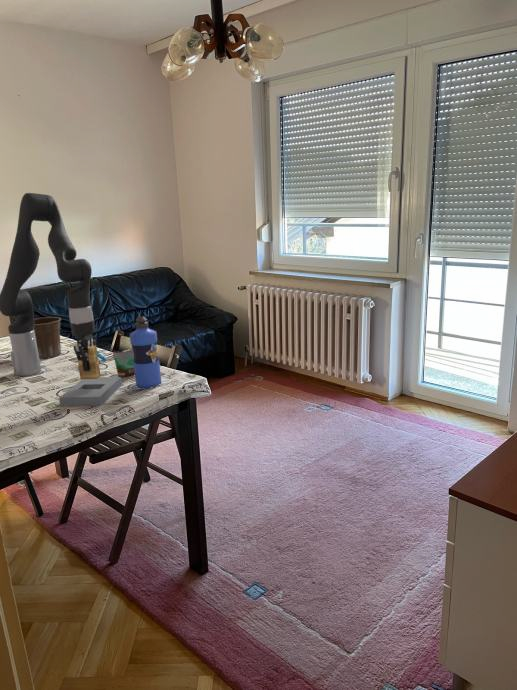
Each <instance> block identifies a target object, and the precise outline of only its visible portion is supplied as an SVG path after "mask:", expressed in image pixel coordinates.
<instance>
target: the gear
mask: <svg viewBox="0 0 517 690" xmlns="http://www.w3.org/2000/svg"><path fill="white" fill-rule="evenodd" d="M97 354H98V359H100V360H102V361H104V362H107V358H106V357H105V356H103V355H102V353H100V352H99V351H98V350H97Z"/></svg>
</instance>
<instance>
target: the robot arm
mask: <svg viewBox="0 0 517 690" xmlns="http://www.w3.org/2000/svg"><path fill="white" fill-rule="evenodd" d="M18 212H19V214H18V222H17V228H16V235H15V238H14V243H13V245H12V246H13V247H12V251H11V254H10V258H9V264H8V269H7V273H6V277H5V280H4V283H3V286H2V289H1V291H0V313H1V314H2V316H5V317H15V316H17V317H16V319H15V320H14V321H13V322H11V323H10V324H9V325H8V328H7V329H8V334H9V340H10V345H11V351H10V359H11V363H12V364H11V365H12V368H13V369H12V370H13V374H14V376H19V377H20V376H21V377H26V376H34V375H36V374H39V373H41V371H42V367H41V361H40V359H39V354H38V348H37V342H36V336H35V331H34V319H35V314H34V306H33V300H32V297H31V295H30V293H29V292H28V291H27V290H25V289H21V288H22V287H23V286H24V285H25V283H26V282H27V281H28V280H29V279H30V278H31V276H32V275H33V274H34V273H35V271H36V270H37V267H38V262H39V260H40V252H41V251H40V249H39V246H38V244H37V242H36V240H35V238H34V236H33V233H32V223H33V222H34V221H35V222H37V221H38V222H48V223H49V224H50V229H49V230H50V231H49V232H48V236H47V244H48V246H49V249H50V251H51V252H52V255H53V256H54V258H55V263H56V269H57V276H58V279H60V281H62V282H63V283H66V284H67V283H69V284H70V283H75V282H78V285H77V286H76V287H74V288H72V289H70V290H67V291H66V297H67V298H66V300H67V304H68V306H67V307H68V316H69V324H70V330H71V335H72V336H74V337H76V345H74V346H73V351H74V353H75V355H76V359H77V358H78V360H79V361H80V360H81V361H82V364H83V370H84V371H90V363H89V353H90V351H89V348H90V346H95V345H96V346H97V336H93V334H95V333H96V328H95V327H96V326H95V320H94V312H93V309H92V304H91V297H90V289H91V279H92V271H93V270H92V266H91V264H90V262H89V260H87V259H85V258H77V250H76V248H75V246H74V245H73V243H72V241H71V240H70V238H69V235H68V233H67V231H66V228H65V225H64V220H63V217H62V215H61V211H60V208H59V205H58V203H57V201H56V199H55V198H54V197H53V196H52V195H49V194H44V193H43V194H41V193H35V192H34V193H33V192H27V193H24V195H23V196H22V198H21V201H20V204H19V210H18ZM76 258H77V259H76ZM84 350H87V351H84ZM85 354H86V355H85ZM78 360H77V361H78Z"/></svg>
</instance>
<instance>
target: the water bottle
mask: <svg viewBox="0 0 517 690" xmlns="http://www.w3.org/2000/svg"><path fill="white" fill-rule="evenodd" d="M147 320H148V318H146V317H145V316H143V315H139V316H138V317H136V319H135V321H136V323H135V328H136V329H135V330H134V331H133V332H130V334H129V342H130V345H131V348H132V349H133V354H134V362H133V363H134V372H135V376H134V378H135V379H134V380H135V386H137V387H136V388H138V389H143V388H146V389H152V388H151V387H153V388H156V387H155V386H157V385H159V384H161V385H162V383H161V382H162V374H161V365H160V358H159V354H158V333H157V331H156V330H153V329H151V328H149V322H148V321H147ZM159 386H160V385H159ZM157 387H158V386H157Z"/></svg>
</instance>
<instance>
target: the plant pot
mask: <svg viewBox="0 0 517 690" xmlns="http://www.w3.org/2000/svg"><path fill="white" fill-rule="evenodd" d="M61 321H62V318H61V317H57V316H49V317H47V316H45V317H39V318H37V317H36V318H34V331H35V336H36V342H37V348H38V354H39V360H40V359H51V358H55V357H58V356H59V355H61V353H62V349H61V346H62V345H61Z"/></svg>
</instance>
